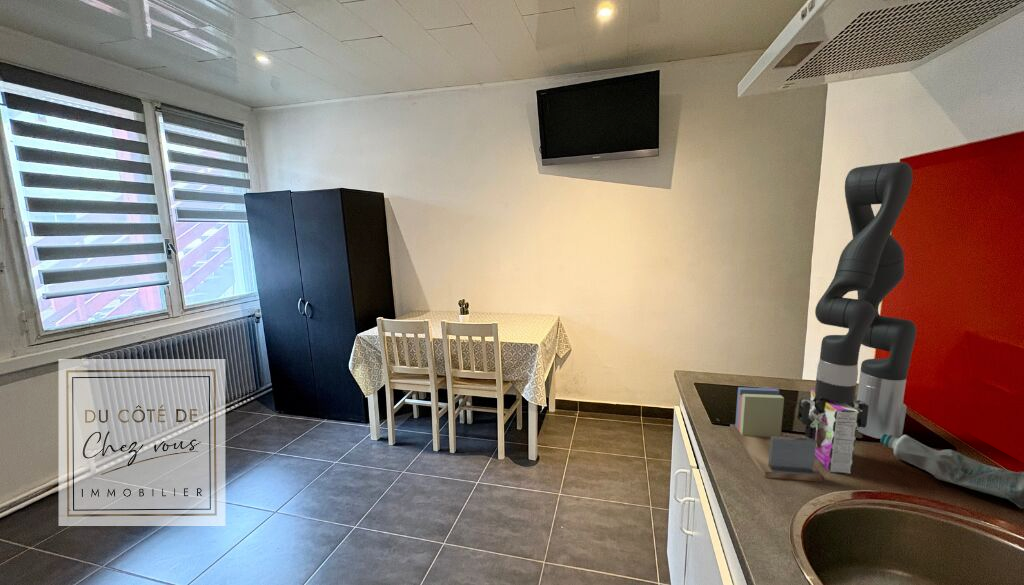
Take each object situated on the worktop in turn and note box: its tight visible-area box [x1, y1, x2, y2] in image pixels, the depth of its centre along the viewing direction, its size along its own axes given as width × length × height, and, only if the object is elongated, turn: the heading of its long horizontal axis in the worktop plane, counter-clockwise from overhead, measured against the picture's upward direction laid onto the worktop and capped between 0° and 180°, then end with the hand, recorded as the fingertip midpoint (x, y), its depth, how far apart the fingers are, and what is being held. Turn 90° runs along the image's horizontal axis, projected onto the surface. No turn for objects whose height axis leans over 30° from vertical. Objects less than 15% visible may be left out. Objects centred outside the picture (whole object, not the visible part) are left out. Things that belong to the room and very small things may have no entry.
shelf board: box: [729, 423, 823, 482], centre depth 101 cm, size 12×22×2 cm, turn 170°
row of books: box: [734, 386, 785, 437], centre depth 108 cm, size 10×5×12 cm, turn 80°
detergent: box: [879, 434, 1024, 510], centre depth 89 cm, size 13×7×25 cm
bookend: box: [768, 436, 816, 475], centre depth 91 cm, size 9×2×8 cm, turn 80°
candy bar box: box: [805, 389, 859, 475], centre depth 96 cm, size 11×5×16 cm, turn 168°
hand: (828, 440), depth 97 cm, fingers open, 7 cm apart
